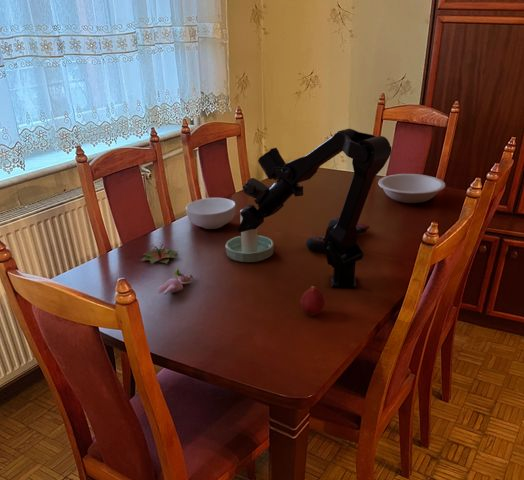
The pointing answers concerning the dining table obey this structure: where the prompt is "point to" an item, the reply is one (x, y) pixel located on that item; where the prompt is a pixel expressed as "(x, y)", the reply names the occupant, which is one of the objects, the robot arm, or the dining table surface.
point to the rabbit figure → (175, 283)
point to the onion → (312, 301)
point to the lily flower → (159, 255)
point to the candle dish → (236, 253)
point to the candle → (249, 239)
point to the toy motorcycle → (318, 242)
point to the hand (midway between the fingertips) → (245, 225)
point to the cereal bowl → (211, 212)
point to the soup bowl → (411, 187)
